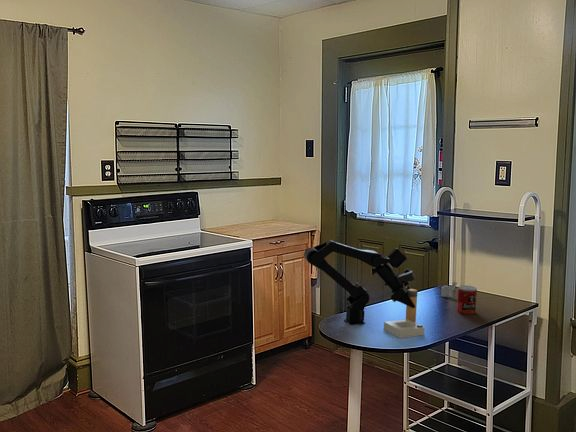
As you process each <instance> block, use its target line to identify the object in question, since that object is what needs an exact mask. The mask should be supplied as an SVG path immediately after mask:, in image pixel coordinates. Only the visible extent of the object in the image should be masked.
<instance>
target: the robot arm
mask: <svg viewBox="0 0 576 432" xmlns="http://www.w3.org/2000/svg"><path fill="white" fill-rule="evenodd" d="M333 252H334V253H337V254H340V255H343V256H347V257H350V258H353V259H356V260H359V261H361V262H363V263H365V264H366V265H368V266H371V267H372V268H370V276H374V275H375V274H376V275H377V277H379V278H380V279H381V280H382V282H383V285H384V286H385V287H388V288H389V290H391V291H390V292H391V295H390V299H391V300H392V302H393V303H396V302H399V303H401V304H404V305H405V306H406V305H407V306H409V307H412V308H415V305H414V303H413V302H412V300H411V299H410V297H409V296H408V290H407V289H411V285H410V284H411V282H413V281H415V280H416V276H415V273H414V271H413V270H410V269H409V268H406V269H404V270H403V271H404V272H403V273H402V274H399V273H398V272H395V271H393V270H394V269H396V270H397V269H399V268H400V267H401V266H402V265H403V264H404V263H405V262H406V261H407V260H408V258H407V256H406V255H405V254H404V253H402V252H401V251H400V250H399V249H398V248H397V247H394V248H393V249H392V250H391V251H390V252H389V253H388V254H387V255H384V254H380V253H379V252H376V251H375V250H371V249H370V250H369V249H359V248H356V247H352V246H349V245H345V244H343V243H340V242H336V241H334V240H331V239H329V240H327V241H325V242H323V243H320V244H318V245H316V246H313V247H308V248H306V249H305V250H304V252H303V258H304V259H305V261H307V262H308V264H310V265H312V266H314V267H315V268H317V269H318V270H319V269H320V270H321V271H322V272H323V273H325V274H326V275H327V276H328V277H330V278H331V279H332V280H333V281H334V282H335V283H337V284H338V286H340V287H342V288H343V289H344V290H345V292H347V294H348V295H349V296H348V297H347V298H345V303H346V305H347V306H346V309H345V310H346V311H345V314H346V315H345V318H344V319H343V321H344V322H346V323H347V324H349V325H351V326H353V325H354V326H355V325H363V324H366V321H365V308H366V306H367V304H368V303H369V301H370V295H369V293H368V292H369V291H368V290H367V289H366V288H365V287H363V286H362V285H361V284H359V282H357V281H356V282H355V283H353V282H350V281H349V280H348V279H347V278H346V277H345V276H344V275H342V274H341V273H340V272H339V271H338V270H336V269H335V268H334V267H333V266H332V265H331V264H330V263H328V262H327V260H326V259H325V258H326V257H328V256H329V255H330V254H332V253H333Z"/></svg>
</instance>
